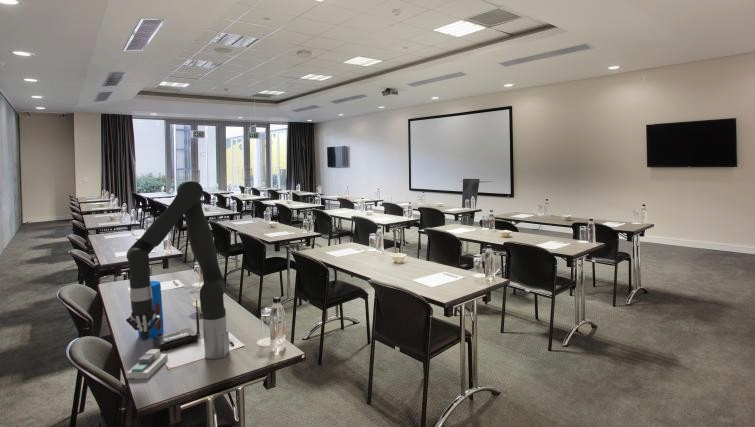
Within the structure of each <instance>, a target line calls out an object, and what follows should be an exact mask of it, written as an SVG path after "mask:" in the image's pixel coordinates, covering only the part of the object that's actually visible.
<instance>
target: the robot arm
mask: <svg viewBox="0 0 755 427" xmlns="http://www.w3.org/2000/svg"><path fill="white" fill-rule="evenodd" d="M203 195H204V189H203V186H202V185H201V184H200V183H199V182H197V181H196V180H185V181H183V182H181V183H180V184H179V185H178V187H177V190H176V196H175V197H174V198H173V200H172V201H171V203H170V204H169V205H168V207H166V209H165V210H164V211H163V212H162V213H161V214H160V215H159V216H158V217H156V219H155V220H154V221H153V222H152V223H151V224H150V225H149V227H148V228H147V229H146V230H145V231H144V232H143V234H142V236H141V237H140V238H138V239H137V240H136V241H135V242H134V243H133V244H132V245H131V246H130V247H129V249H128V250H127V251H126V260H127V261H128V266H129V267H128V268H129V273H130V274H129V277H128V278H129V280H128V281H129V287H130V288H129V289H130V290H129V298H130V306H131V314H130V316H129V317H127V318H126V320H125V321H126V322H127V324H129V326H131V328H132V329H133V330H135V331H138V330H139V331H140V334H141V338H140V339H141V340H142V341H148V340H150V339H149V337H150V332H149V330H151V329H152V328H153V327H154V326H155V325H156V323H157V322H158V321H159V319H160V318H161V316H160V315H159V316H158V315H156V314H155V311H154V310H153V297H152V289H151V284H150V281H151V276H150V257H149V256H150V255H149V254H150V253H152V251H153V250H154V249H155V248H157V247H158V246H160V245H161V243H162V242H163V241H164V240H165V239H166V237H167V236H168V235H169V233H170V232H171V230H172V229H173V228H174V227H175V226H176V224H177V223H178V222H179V220H181V218H182V217H183V216H184V217H185V224H186V230H187V236H188V241H189V245H190V249H191V252H192V255H193V257H194V258H195V260H196V262H197V263H198V265H199V267H200V270H201V275H202V280H203V284H202V286H200V288H199V301H200V303H199V305H200V311H201V314H202V328H203V329H202V330H203V331H202V332H203V343H204V344H203V345H204V358H206V359H207V360H217V359H222V358H226V357H227V355H228V354H229V352H230V337H229V330H227V315H226V314H227V313H226V308H225V305H224V303H225V301H224V295H225V292H226V282H225V279H224V277H223V274H222V270H221V269H220V265H219V262H218V254H217V250H216V249H217V248H216V245H215V244H216V243H215V240H214V236H213V233H212V229H211V227H210V225H209V223H208V221H207V220H208V219H207V218H206V216H205V214H204V209H203V204H202V203H203V202H202V198H203ZM152 317H153V320H154V321H153V322H152V323H151V325H150V320H151V319H152Z"/></svg>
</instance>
